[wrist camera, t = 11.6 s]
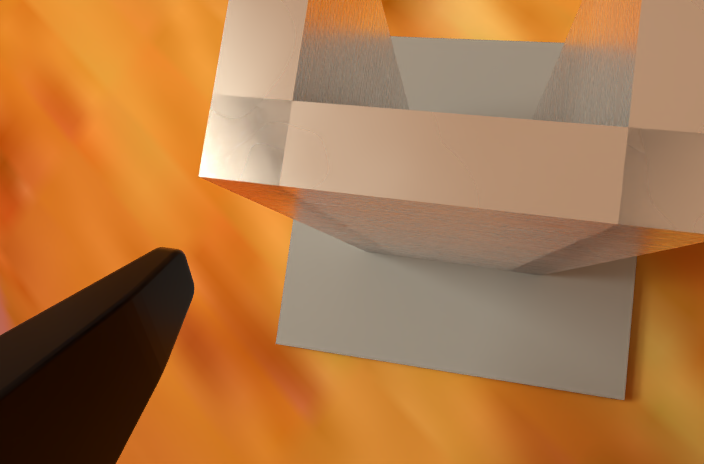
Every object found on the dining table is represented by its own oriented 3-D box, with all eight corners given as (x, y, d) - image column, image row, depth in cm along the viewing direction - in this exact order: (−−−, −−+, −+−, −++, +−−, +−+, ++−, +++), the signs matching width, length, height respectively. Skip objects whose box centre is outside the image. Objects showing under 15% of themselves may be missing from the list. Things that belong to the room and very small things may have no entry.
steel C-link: (541, 275, 17) (728, 237, 5) (366, 251, 18) (198, 176, 6) (556, 138, 17) (766, -185, 6) (384, 124, 18) (257, -170, 7)
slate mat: (620, 397, 16) (624, 400, 16) (279, 342, 19) (275, 343, 18) (650, 52, 17) (654, 46, 17) (322, 38, 20) (319, 33, 19)
